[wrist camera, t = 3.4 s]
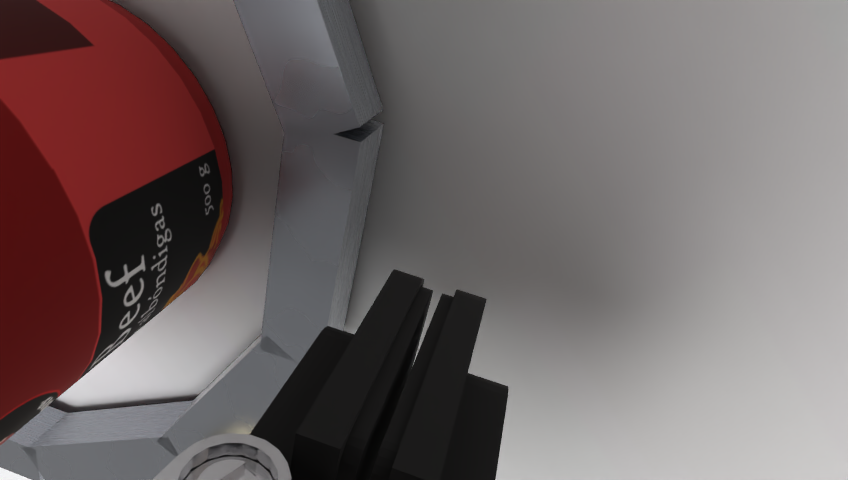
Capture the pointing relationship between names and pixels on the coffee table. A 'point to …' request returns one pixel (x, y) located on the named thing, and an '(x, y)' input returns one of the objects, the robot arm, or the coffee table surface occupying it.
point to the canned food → (95, 191)
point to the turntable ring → (289, 261)
